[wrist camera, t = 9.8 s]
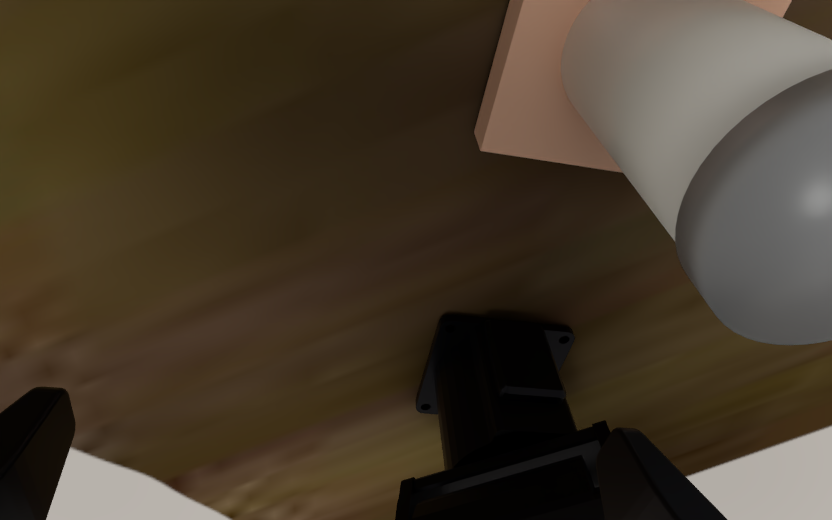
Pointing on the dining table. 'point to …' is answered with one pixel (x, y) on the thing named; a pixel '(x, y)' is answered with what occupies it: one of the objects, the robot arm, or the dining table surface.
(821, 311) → the plug
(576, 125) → the tile
